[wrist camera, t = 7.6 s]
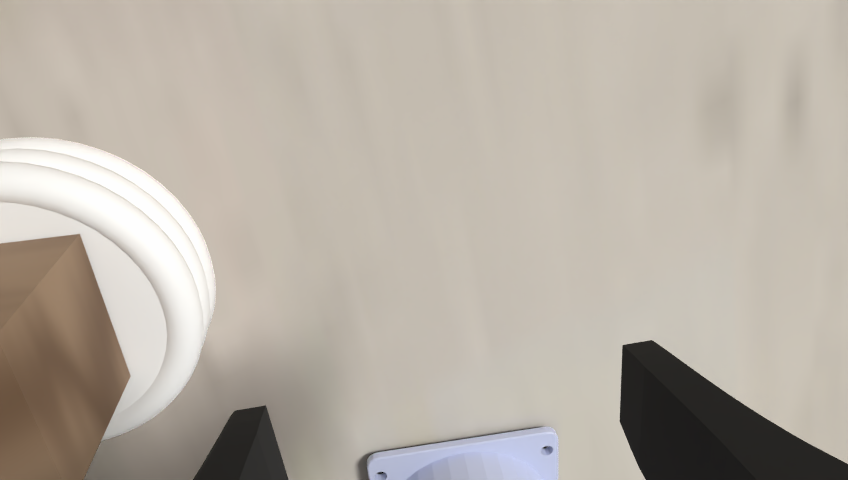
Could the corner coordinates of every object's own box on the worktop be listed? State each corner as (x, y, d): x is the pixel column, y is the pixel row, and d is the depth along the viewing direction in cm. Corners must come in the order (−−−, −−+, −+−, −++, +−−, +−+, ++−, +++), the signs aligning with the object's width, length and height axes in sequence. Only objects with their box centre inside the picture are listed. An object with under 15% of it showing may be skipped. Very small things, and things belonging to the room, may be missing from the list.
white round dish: (178, 113, 20) (148, 148, 17) (245, 367, 25) (231, 431, 22) (-155, 151, 20) (-247, 195, 17) (-24, 405, 24) (-79, 476, 21)
